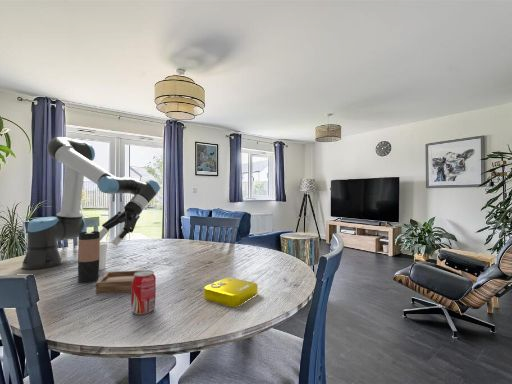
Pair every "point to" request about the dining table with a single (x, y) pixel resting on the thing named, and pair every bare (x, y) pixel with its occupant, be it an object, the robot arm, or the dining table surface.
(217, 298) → the element tile
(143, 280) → the soda can
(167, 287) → the dining table surface
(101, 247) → the candle holder
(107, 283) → the tray
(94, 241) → the travel mug
